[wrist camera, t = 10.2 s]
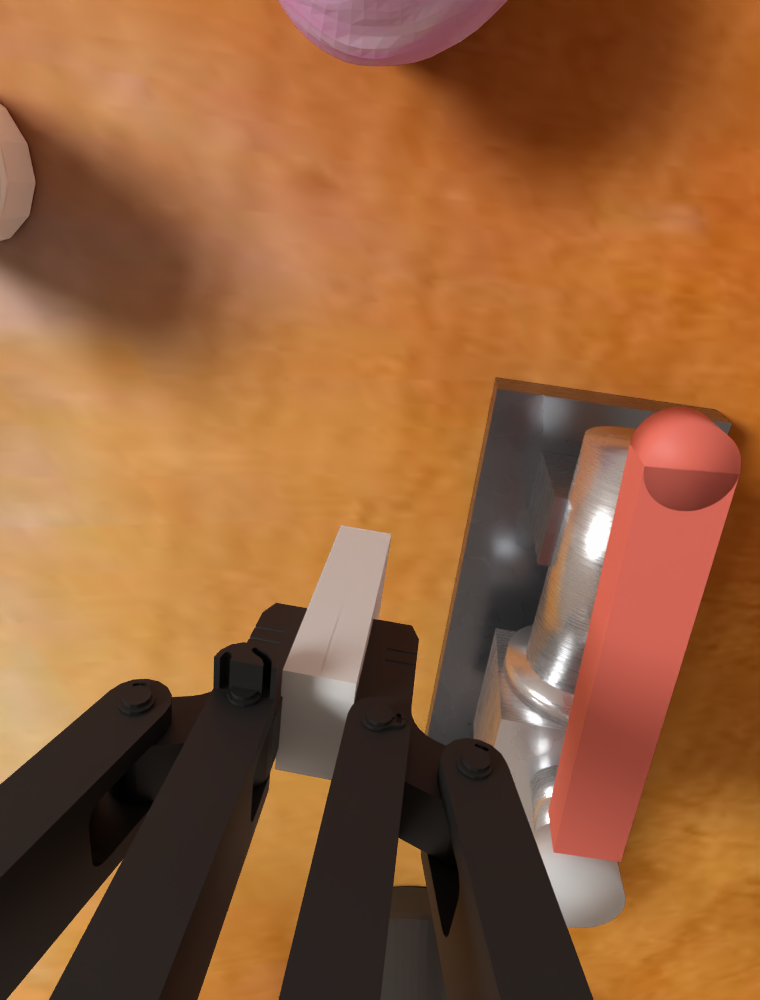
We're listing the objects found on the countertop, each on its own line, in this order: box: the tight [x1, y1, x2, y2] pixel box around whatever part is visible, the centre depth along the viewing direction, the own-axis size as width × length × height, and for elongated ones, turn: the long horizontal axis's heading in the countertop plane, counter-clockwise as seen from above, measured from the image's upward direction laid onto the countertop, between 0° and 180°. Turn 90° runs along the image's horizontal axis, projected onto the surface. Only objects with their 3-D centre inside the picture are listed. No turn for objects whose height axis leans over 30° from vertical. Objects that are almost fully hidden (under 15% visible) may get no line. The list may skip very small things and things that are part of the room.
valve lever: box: [533, 407, 741, 928], centre depth 20 cm, size 19×3×2 cm, turn 178°
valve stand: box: [425, 377, 732, 832], centre depth 30 cm, size 28×10×12 cm, turn 173°
